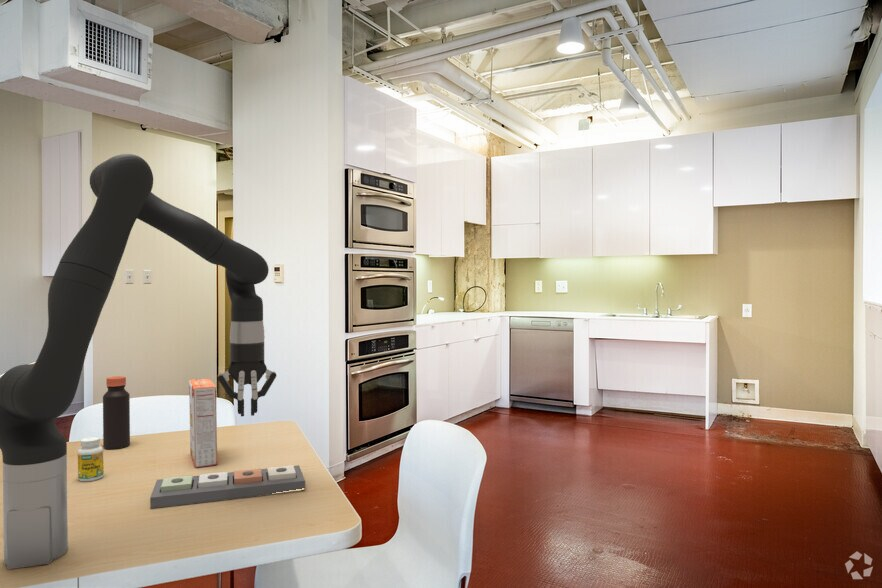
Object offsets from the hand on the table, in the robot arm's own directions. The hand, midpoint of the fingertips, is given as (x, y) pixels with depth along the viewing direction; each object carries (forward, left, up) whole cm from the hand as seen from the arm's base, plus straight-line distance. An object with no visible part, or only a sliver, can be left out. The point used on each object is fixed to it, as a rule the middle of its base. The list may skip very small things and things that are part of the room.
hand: (247, 415), depth 136 cm
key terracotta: (0, 0, -15) cm, 15 cm away
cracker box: (+27, +11, -17) cm, 34 cm away
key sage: (0, +15, -15) cm, 22 cm away
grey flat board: (0, +4, -17) cm, 17 cm away
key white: (0, +7, -15) cm, 17 cm away
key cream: (0, -7, -15) cm, 17 cm away
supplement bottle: (+20, +36, -17) cm, 44 cm away
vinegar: (+49, +35, -17) cm, 62 cm away
